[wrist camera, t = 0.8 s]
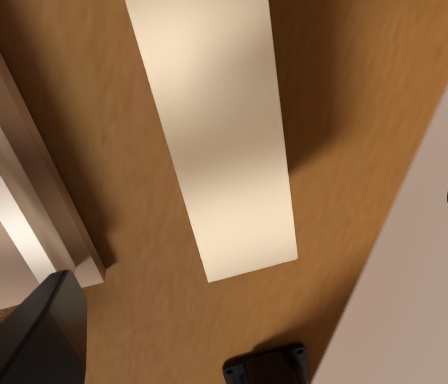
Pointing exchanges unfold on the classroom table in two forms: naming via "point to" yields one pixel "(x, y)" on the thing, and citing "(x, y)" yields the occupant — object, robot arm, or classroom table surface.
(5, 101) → the airplane cradle
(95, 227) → the classroom table surface
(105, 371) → the classroom table surface
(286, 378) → the robot arm
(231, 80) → the white block
